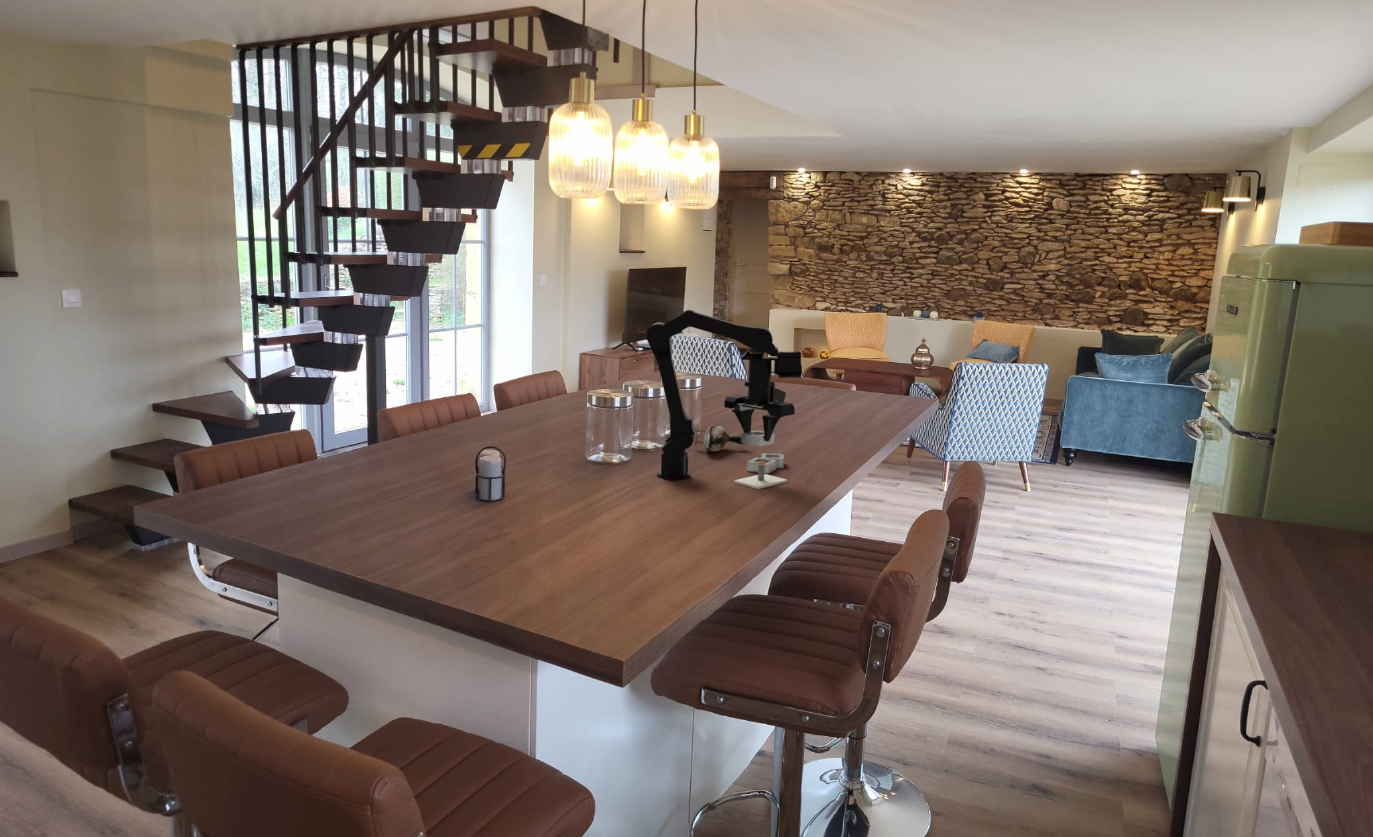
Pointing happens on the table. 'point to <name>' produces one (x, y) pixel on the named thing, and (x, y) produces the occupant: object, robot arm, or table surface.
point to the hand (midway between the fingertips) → (757, 439)
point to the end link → (756, 438)
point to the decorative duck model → (716, 438)
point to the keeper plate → (761, 483)
